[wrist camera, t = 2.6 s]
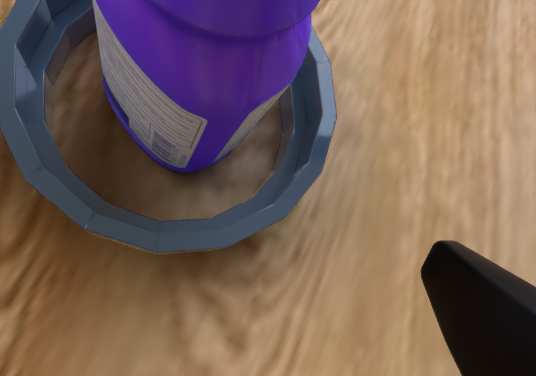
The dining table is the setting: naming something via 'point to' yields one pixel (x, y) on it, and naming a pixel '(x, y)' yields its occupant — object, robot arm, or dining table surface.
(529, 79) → the dining table surface
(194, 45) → the bottle
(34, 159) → the bowl
